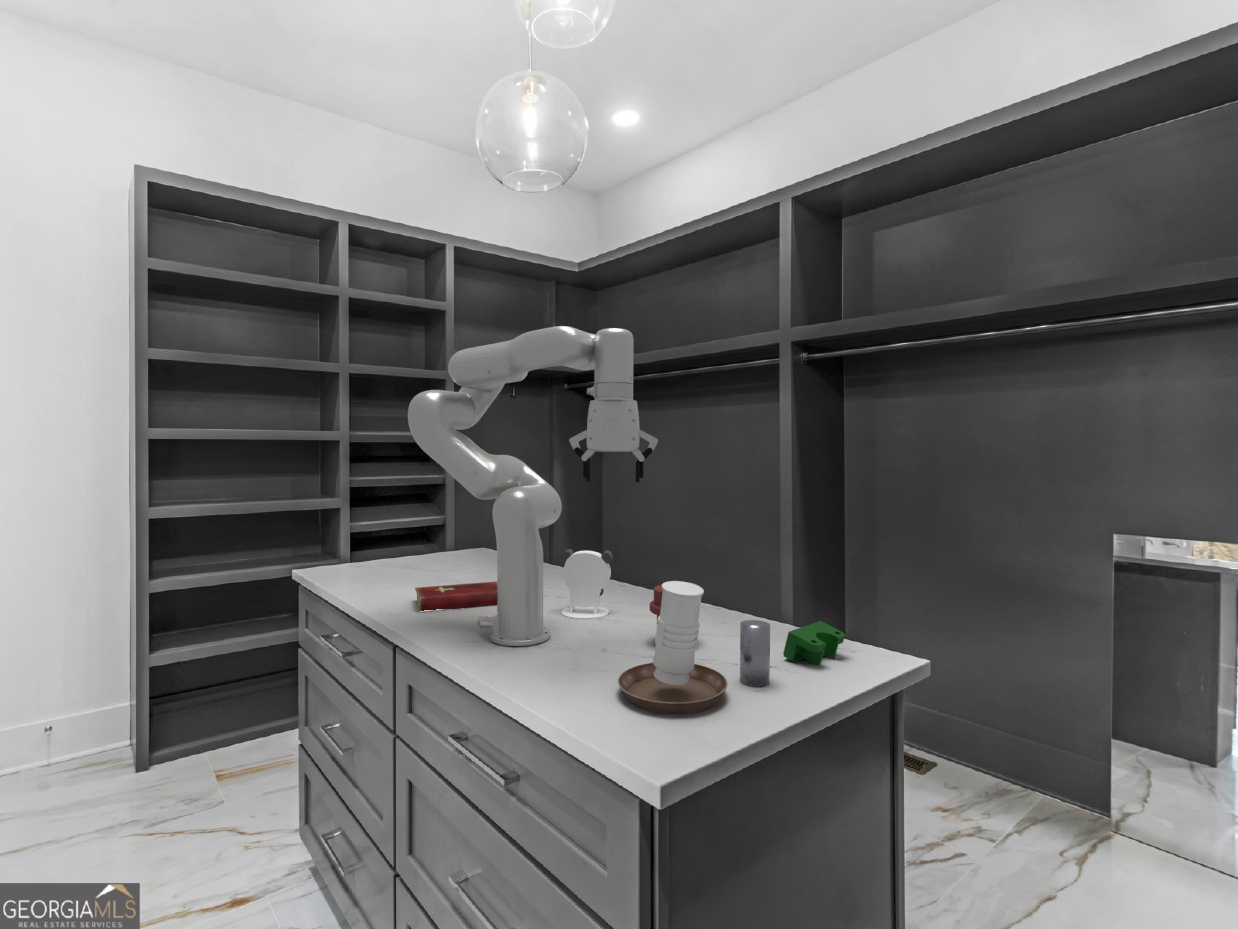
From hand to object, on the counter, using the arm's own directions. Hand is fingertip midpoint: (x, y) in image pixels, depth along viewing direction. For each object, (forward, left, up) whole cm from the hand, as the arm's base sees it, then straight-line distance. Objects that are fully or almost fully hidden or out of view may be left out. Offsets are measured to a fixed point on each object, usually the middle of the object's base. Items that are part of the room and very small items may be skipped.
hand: (613, 481), depth 127 cm
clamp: (+39, -1, -34) cm, 51 cm away
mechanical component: (+12, +6, -34) cm, 36 cm away
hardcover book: (-42, +33, -34) cm, 63 cm away
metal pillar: (+26, -14, -33) cm, 45 cm away
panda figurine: (-9, +27, -34) cm, 44 cm away
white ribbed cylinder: (+12, -21, -31) cm, 39 cm away
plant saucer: (+12, -21, -34) cm, 42 cm away
